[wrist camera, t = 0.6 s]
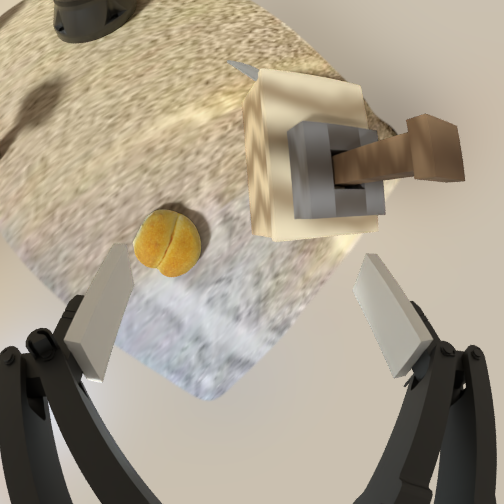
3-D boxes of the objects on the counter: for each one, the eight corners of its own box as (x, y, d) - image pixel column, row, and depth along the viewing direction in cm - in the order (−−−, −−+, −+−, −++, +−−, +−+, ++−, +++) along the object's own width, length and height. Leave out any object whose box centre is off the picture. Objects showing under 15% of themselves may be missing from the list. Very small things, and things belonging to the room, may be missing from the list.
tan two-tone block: (239, 100, 37) (272, 51, 24) (324, 107, 41) (378, 75, 28) (250, 236, 40) (291, 244, 26) (336, 228, 44) (399, 233, 30)
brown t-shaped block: (311, 155, 30) (425, 113, 14) (342, 157, 32) (456, 126, 15) (314, 193, 31) (435, 176, 15) (345, 192, 32) (465, 181, 16)
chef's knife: (228, 49, 36) (218, 58, 36) (230, 45, 35) (219, 55, 35) (321, 115, 42) (313, 127, 41) (324, 113, 41) (317, 124, 40)
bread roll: (184, 283, 38) (186, 290, 34) (127, 254, 36) (123, 258, 32) (211, 230, 39) (216, 231, 35) (154, 200, 36) (152, 197, 32)
